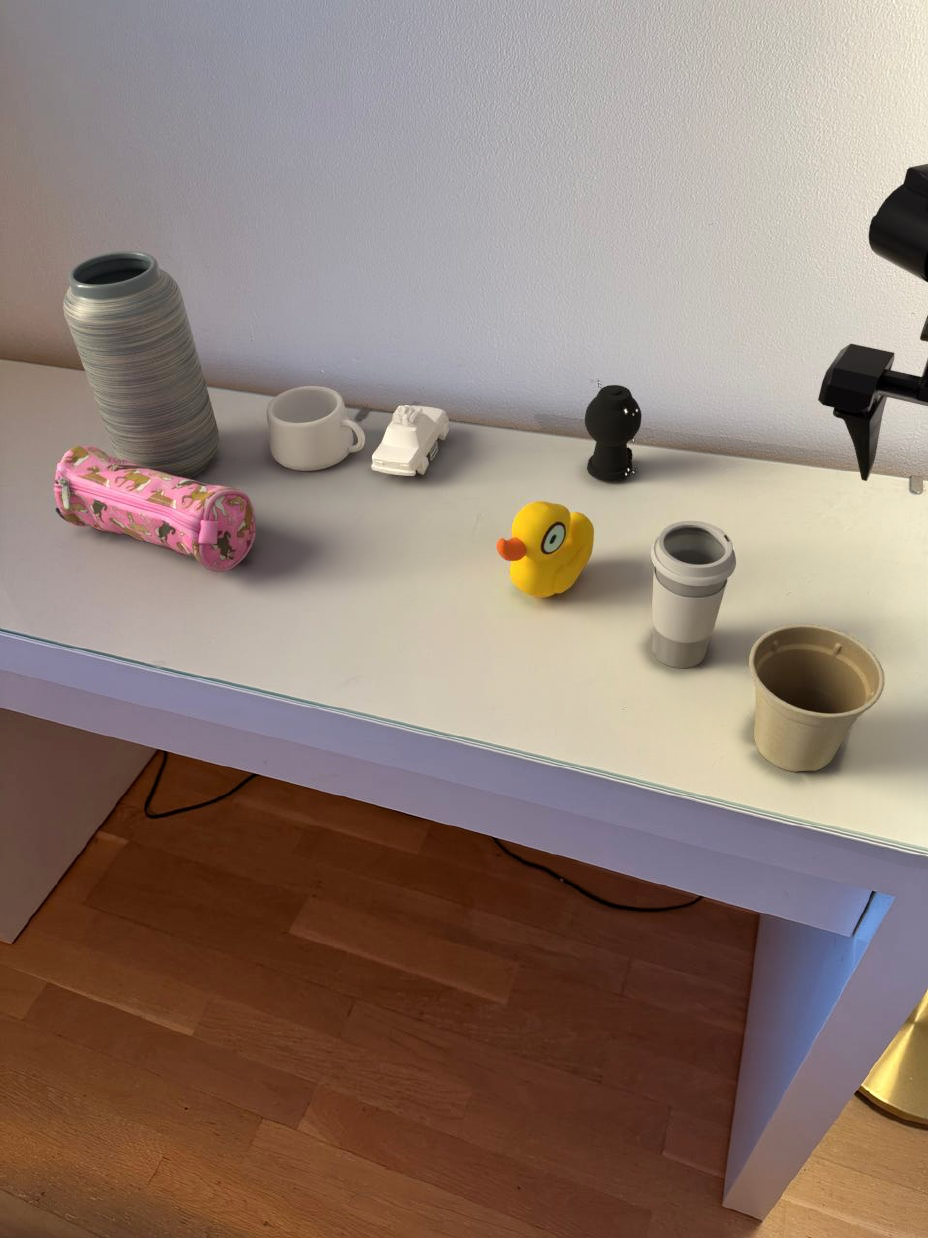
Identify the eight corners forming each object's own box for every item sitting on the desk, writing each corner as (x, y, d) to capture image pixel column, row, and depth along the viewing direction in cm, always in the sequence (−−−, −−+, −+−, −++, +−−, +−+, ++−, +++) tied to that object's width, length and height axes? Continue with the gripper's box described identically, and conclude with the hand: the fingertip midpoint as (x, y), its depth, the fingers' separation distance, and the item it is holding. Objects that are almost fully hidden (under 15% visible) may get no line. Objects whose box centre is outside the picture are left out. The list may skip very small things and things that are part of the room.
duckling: (521, 631, 84) (520, 546, 78) (482, 603, 88) (477, 518, 81) (606, 574, 90) (612, 489, 83) (566, 549, 93) (569, 465, 86)
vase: (102, 481, 106) (26, 285, 90) (163, 428, 113) (103, 239, 97) (186, 500, 102) (122, 299, 86) (243, 445, 110) (195, 251, 94)
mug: (256, 464, 106) (244, 419, 102) (298, 421, 113) (289, 377, 108) (347, 485, 103) (340, 438, 98) (386, 439, 109) (381, 393, 105)
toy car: (454, 433, 109) (450, 381, 104) (418, 491, 101) (413, 438, 96) (407, 426, 111) (401, 375, 106) (368, 483, 102) (360, 430, 98)
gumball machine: (651, 476, 101) (660, 394, 94) (609, 496, 99) (615, 414, 92) (611, 449, 105) (616, 369, 98) (570, 468, 103) (572, 387, 96)
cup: (730, 671, 80) (753, 564, 71) (656, 685, 79) (670, 578, 71) (699, 616, 85) (717, 510, 76) (629, 628, 84) (640, 523, 76)
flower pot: (740, 687, 78) (758, 612, 72) (859, 711, 76) (886, 636, 70) (724, 773, 72) (741, 699, 66) (852, 803, 69) (882, 729, 63)
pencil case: (59, 541, 98) (27, 471, 92) (119, 493, 104) (93, 424, 98) (220, 596, 90) (197, 524, 84) (275, 541, 96) (258, 470, 90)
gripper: (1155, 290, 65) (1067, 474, 76) (881, 244, 73) (836, 417, 84) (1139, 359, 59) (1044, 550, 69) (840, 301, 66) (796, 481, 77)
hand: (923, 493), depth 75 cm, fingers open, 9 cm apart
